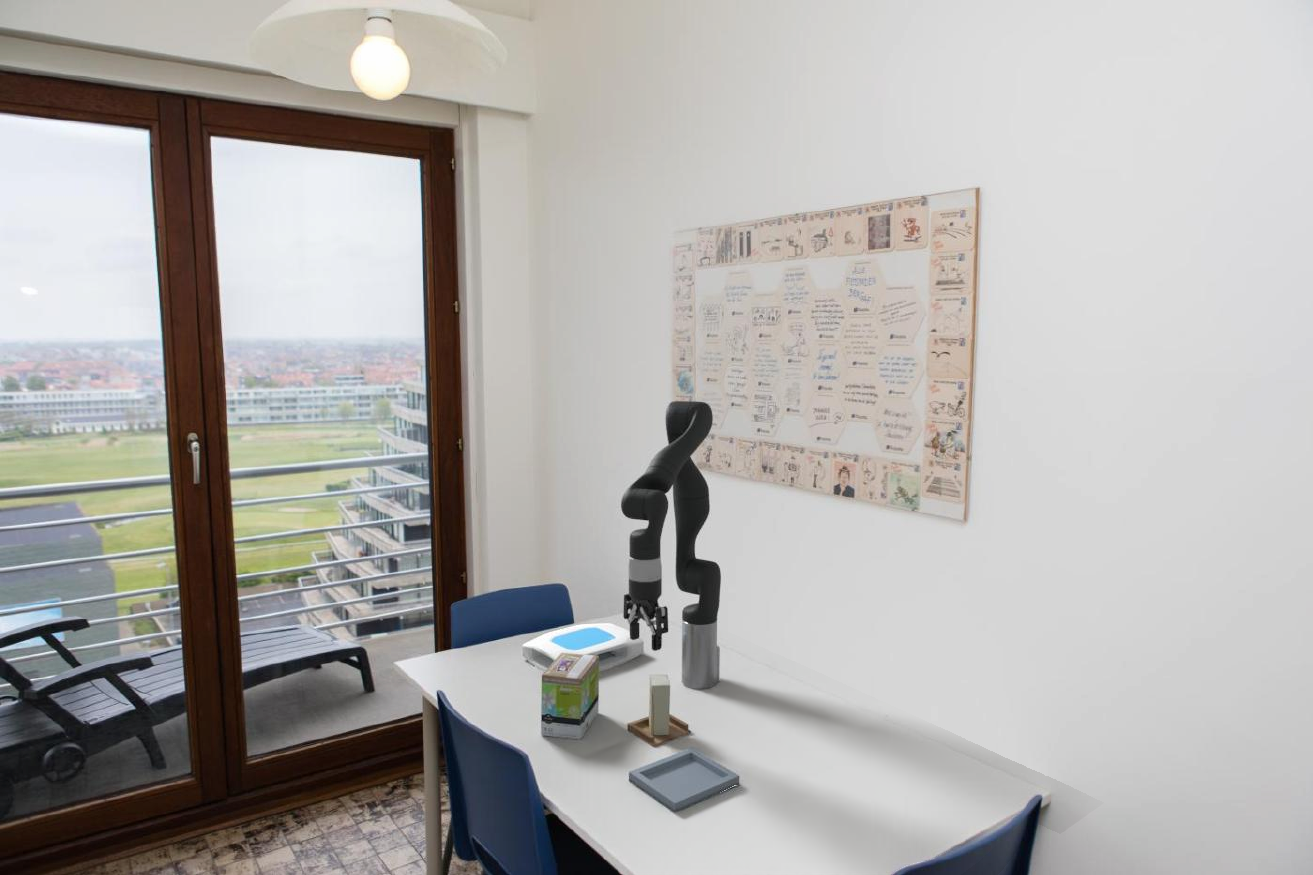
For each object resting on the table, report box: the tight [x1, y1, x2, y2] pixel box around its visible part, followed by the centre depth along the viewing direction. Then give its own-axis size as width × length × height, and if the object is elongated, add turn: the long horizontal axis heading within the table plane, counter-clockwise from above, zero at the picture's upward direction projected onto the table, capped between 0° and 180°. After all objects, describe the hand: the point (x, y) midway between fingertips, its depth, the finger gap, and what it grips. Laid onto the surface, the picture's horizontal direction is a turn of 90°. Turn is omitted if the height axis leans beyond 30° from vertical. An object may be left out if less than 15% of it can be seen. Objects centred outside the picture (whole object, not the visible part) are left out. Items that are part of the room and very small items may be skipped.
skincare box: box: [648, 674, 671, 735], centre depth 196 cm, size 6×4×12 cm
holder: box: [626, 713, 692, 748], centre depth 196 cm, size 11×10×2 cm
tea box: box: [540, 653, 600, 740], centre depth 200 cm, size 15×10×15 cm
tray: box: [628, 747, 740, 814], centre depth 174 cm, size 17×15×2 cm
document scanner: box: [522, 622, 645, 672], centre depth 241 cm, size 21×28×6 cm
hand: (645, 644), depth 195 cm, fingers open, 8 cm apart
